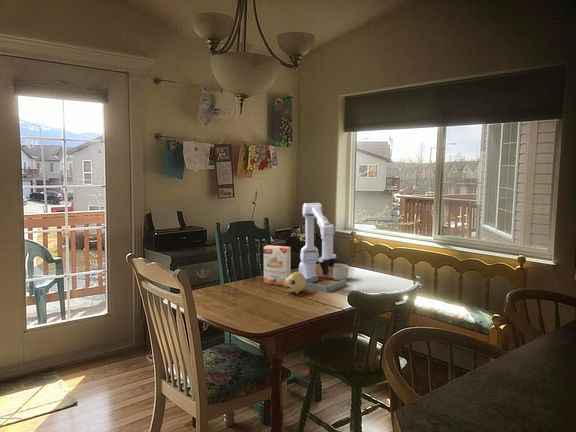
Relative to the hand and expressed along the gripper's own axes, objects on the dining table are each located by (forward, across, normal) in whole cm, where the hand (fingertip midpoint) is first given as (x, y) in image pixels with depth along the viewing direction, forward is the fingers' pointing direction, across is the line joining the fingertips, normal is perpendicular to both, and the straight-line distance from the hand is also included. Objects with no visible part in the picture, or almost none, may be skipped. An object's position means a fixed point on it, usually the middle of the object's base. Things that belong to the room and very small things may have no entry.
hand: (327, 273), depth 239 cm
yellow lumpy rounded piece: (+9, -15, +10) cm, 20 cm away
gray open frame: (+8, +5, +6) cm, 11 cm away
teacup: (+9, +22, +8) cm, 25 cm away
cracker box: (+9, -6, +28) cm, 30 cm away
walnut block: (+2, 0, 0) cm, 2 cm away
